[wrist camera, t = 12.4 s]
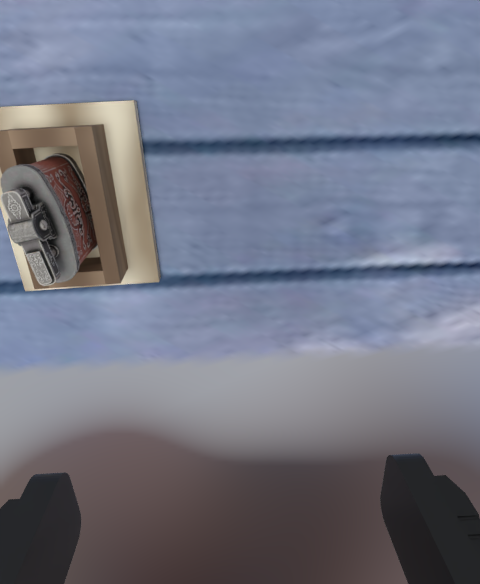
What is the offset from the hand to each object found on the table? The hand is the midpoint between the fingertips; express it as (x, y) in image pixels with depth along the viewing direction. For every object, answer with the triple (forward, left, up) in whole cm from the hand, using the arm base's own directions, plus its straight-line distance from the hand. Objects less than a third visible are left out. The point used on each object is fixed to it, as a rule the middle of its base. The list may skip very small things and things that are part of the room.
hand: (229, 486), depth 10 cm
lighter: (+12, -2, -27) cm, 30 cm away
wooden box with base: (+12, -2, -28) cm, 31 cm away
